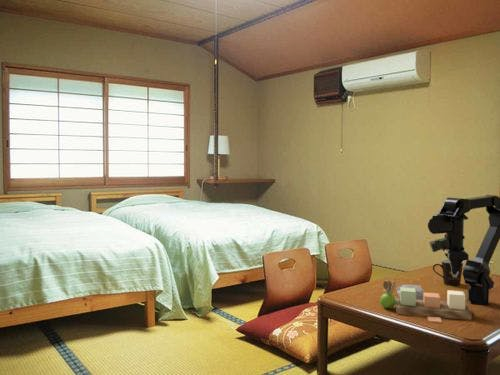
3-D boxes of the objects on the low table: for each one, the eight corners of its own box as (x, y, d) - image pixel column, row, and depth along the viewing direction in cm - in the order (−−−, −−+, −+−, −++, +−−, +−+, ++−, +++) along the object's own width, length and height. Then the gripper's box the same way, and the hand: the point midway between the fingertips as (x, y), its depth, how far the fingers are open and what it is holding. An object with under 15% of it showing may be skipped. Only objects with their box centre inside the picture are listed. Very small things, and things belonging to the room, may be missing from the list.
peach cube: (438, 307, 160) (438, 293, 160) (439, 311, 155) (440, 297, 155) (423, 305, 162) (423, 292, 161) (424, 310, 157) (424, 296, 157)
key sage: (414, 301, 162) (414, 288, 162) (415, 305, 158) (415, 292, 157) (400, 300, 164) (400, 287, 163) (400, 304, 159) (400, 291, 159)
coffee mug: (464, 283, 195) (464, 260, 195) (461, 287, 188) (461, 264, 188) (435, 279, 202) (436, 257, 201) (432, 284, 194) (432, 261, 194)
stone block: (400, 304, 173) (427, 300, 171) (397, 292, 173) (424, 288, 171) (396, 296, 184) (421, 293, 182) (394, 285, 184) (419, 281, 182)
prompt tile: (440, 318, 151) (440, 317, 151) (441, 322, 147) (441, 321, 147) (427, 317, 152) (427, 316, 152) (428, 321, 149) (428, 320, 149)
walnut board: (465, 309, 161) (465, 302, 160) (471, 319, 150) (471, 312, 150) (395, 304, 167) (395, 297, 167) (396, 313, 157) (396, 307, 156)
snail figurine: (388, 312, 158) (389, 278, 158) (376, 306, 164) (377, 274, 164) (400, 309, 161) (401, 277, 160) (388, 304, 167) (388, 273, 166)
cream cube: (462, 305, 158) (462, 291, 158) (465, 309, 153) (465, 295, 153) (447, 304, 159) (447, 290, 159) (449, 308, 155) (449, 294, 154)
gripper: (428, 227, 174) (427, 267, 174) (434, 235, 156) (433, 279, 157) (459, 228, 171) (458, 269, 171) (469, 236, 153) (468, 281, 153)
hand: (454, 274), depth 163 cm, fingers closed
